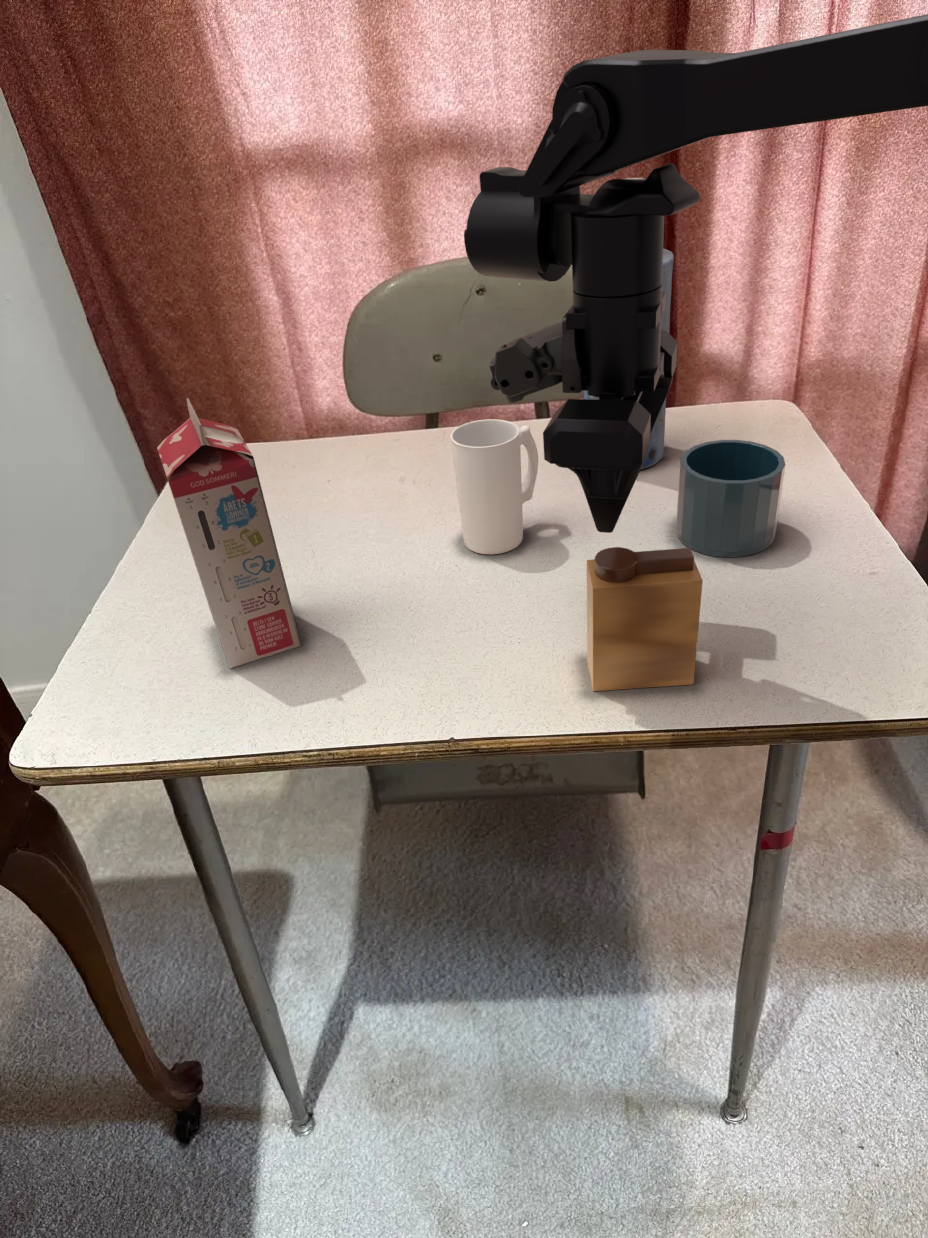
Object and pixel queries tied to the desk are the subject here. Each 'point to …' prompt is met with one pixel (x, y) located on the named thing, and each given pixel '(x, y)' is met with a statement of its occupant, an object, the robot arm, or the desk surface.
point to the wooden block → (643, 629)
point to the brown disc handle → (640, 563)
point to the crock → (729, 497)
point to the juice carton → (230, 538)
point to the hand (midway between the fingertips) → (616, 501)
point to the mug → (492, 482)
